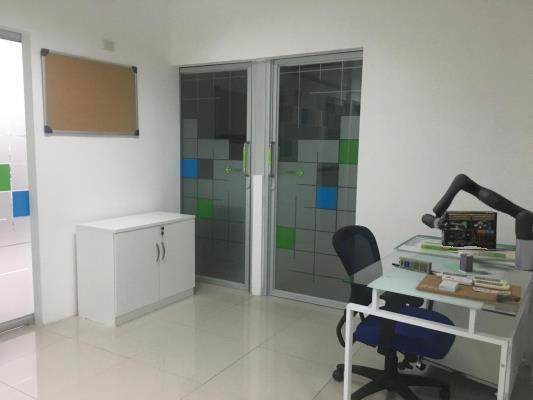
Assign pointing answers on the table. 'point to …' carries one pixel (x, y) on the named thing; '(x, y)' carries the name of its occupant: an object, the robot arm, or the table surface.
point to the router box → (471, 229)
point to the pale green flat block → (458, 269)
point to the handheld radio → (414, 265)
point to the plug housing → (466, 262)
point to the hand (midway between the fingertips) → (456, 228)
